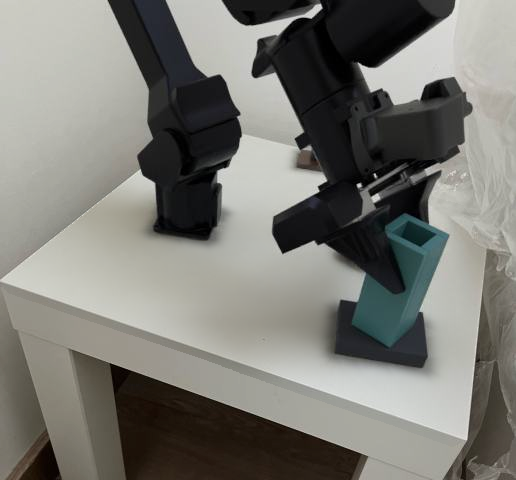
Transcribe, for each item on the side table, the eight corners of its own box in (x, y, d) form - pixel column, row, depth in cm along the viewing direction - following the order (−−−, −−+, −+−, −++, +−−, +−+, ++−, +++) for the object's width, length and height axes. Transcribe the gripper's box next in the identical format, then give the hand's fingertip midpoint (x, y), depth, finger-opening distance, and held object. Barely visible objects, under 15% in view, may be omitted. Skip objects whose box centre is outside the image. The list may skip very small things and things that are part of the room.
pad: (334, 353, 47) (337, 342, 46) (337, 310, 52) (340, 299, 51) (423, 367, 47) (428, 356, 46) (418, 323, 51) (423, 312, 50)
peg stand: (297, 167, 72) (301, 138, 69) (300, 153, 75) (304, 124, 72) (330, 172, 72) (335, 143, 69) (332, 157, 75) (337, 129, 72)
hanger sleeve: (350, 324, 48) (377, 231, 41) (375, 303, 50) (404, 212, 43) (389, 348, 46) (424, 255, 39) (413, 325, 48) (450, 234, 41)
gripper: (333, 67, 29) (445, 316, 32) (480, 18, 39) (554, 209, 42) (224, 153, 37) (321, 341, 41) (368, 94, 48) (436, 247, 51)
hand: (414, 281), depth 43 cm, fingers closed on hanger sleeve, 4 cm apart
